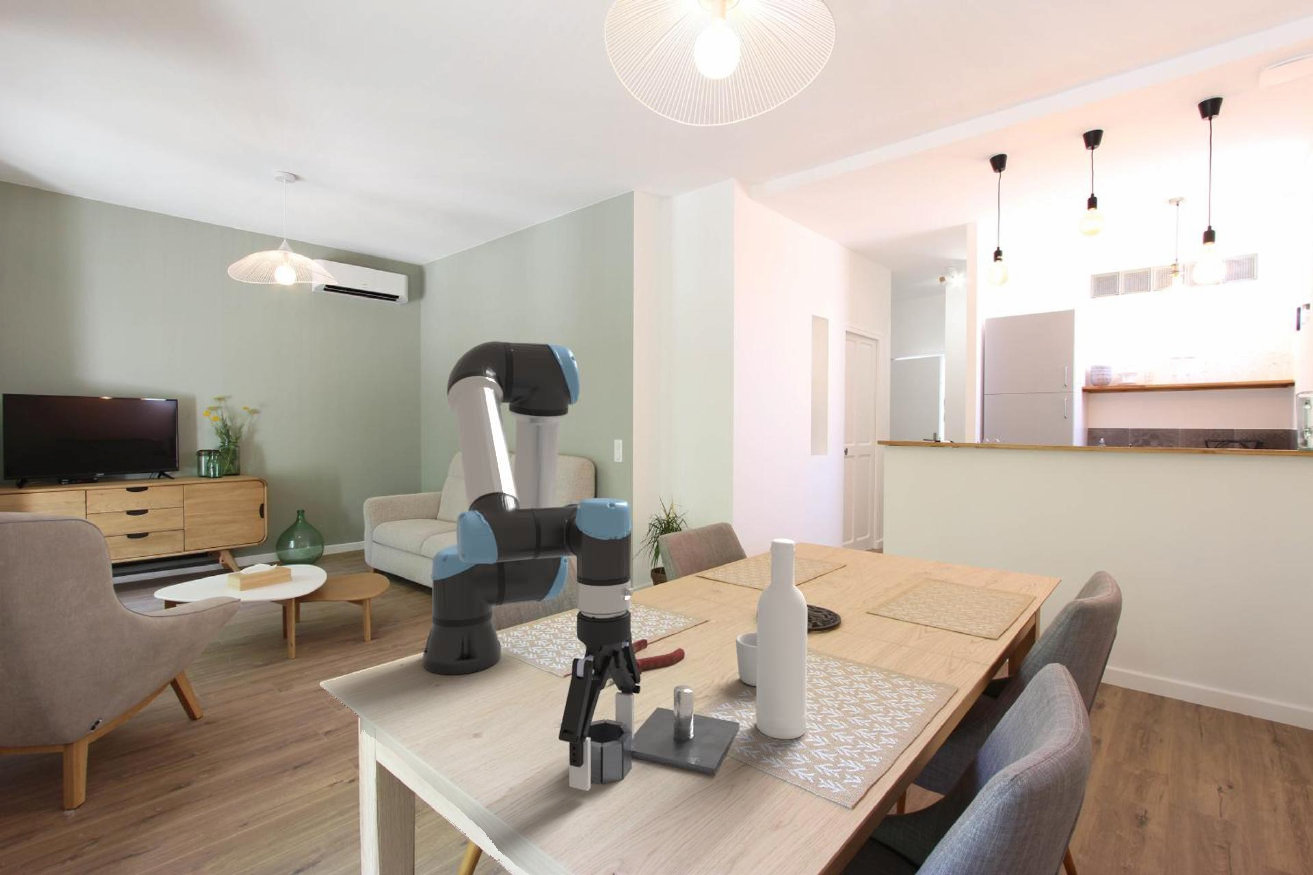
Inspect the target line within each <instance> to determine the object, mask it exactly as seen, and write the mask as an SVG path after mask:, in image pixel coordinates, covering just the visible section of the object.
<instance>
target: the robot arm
mask: <svg viewBox="0 0 1313 875" xmlns="http://www.w3.org/2000/svg"><path fill="white" fill-rule="evenodd" d="M580 382H581V381H580V374H579V368H578V364H577V361H576V358H575V355H574V353H573V352H572V350H571V349H569V348H568V347H566V346H563V345H556V344H550V343H536V342H535V343H531V342H530V343H529V342H528V343H527V342H509V341H508V342H505V341H499V340H498V341H497V340H496V341H495V340H493V341H487V342H482V343H480V344H478V345H476V346H474V347H472V348H471V349H469V350H468V351H466V352H465V353H464V354H463V355H461V357H460V358H459V359H458V360H457V362H456V363H455V365H454V366H453V367H452V370H451V372H450V373H449V377H448V380H447V385H446V394H447V402H448V405H449V407H450V409H451V410H452V411H453V412H454V413H455V416H456V425H457V432H458V440H459V448H460V455H461V462H462V469H463V470H462V471H463V472H462V473H463V479H464V485H465V487H464V488H465V494H466V502H467V508H468V509H467V511H462V512H460V514H459V515H458V516H457V521H456V534H455V535H456V544H454V545H451V546H447V547H444V548H442V549H441V550H439V551H438V552H437V553H436V554H435V555H434V556H433V558H432V567H431V568H432V571H431V575H430V579H431V581H432V585H431V586H432V590H431V591H432V594H431V595H432V596H431V598H432V602H431V603H432V605H431V609H432V610H431V613H432V614H431V616H432V618H431V620H432V621H431V628H430V632H429V634H428V637H427V640H426V643H425V644H426V645H425V647H424V650H423V653H422V667H423V668H424V669H425V670H427V671H429V672H430V673H431V672H432V673H435V674H441V675H463V674H470V673H475V672H479V671H482V670H485V669H487V668H489V667H492V666H494V665H495V664H497V663H498V662H499V661H500V660H501V658H502V645H501V643H500V642H501V641H500V640H499V637H498V634H497V631H496V627H495V625H494V621H493V607H495V606H496V607H497V606H505V605H513V604H514V605H515V604H516V605H517V604H523V603H524V604H525V603H531V602H532V603H533V602H537V603H540V602H542V601H547V600H552V599H556V598H557V597H559V596H560V595H561V594H562V592H563V591H564V589H565V585H566V583H567V578H568V571H569V563H568V557H576V609H577V610H578V612H577V614H576V636H577V640H578V641H580V642H581V643H582V644H583V645H584V646H585V651H584V652H585V653H584V657H583V658H578V657H575V658H573V660H572V664H571V678H570V682H569V686H568V691H567V696H566V701H565V705H564V711H563V716H562V719H561V724H560V729H559V732H558V733H559V734H558V740H559V741H562V742H566V743H569V745H568V746H569V748H568V750H569V751H568V752H569V756H568V758H569V763H568V764H569V765H568V767H569V768H568V770H569V774H568V775H569V776H568V777H569V778H568V780H569V781H568V782H569V783H568V786H569V787H570V788H574V789H579V790H583V791H587V792H588V791H589V790H590V789H591V786H592V785H591V783H592V782H591V738H589V737H587V735H588V731H589V728H590V725H591V722H593V721H592V720H593V718H594V714H595V712H596V707H597V704H598V701H599V697H600V694H601V691H602V690H604V689H605V688H606V686H607V683H608V680H609V679H610V678H609V677H610V676H611V679H613V681H614V682H613V683H614V684H615V686H616V688H617V690H618V691H617V692H616V693H615V694H614V695H615V699H614V700H615V701H614V702H615V703H614V704H615V707H614V708H615V713H614V714H615V718H614V719H615V720H614V721H619V722H623V723H624V724H626V725H627V726H628V728H629V729H630V730H631V731H632V739H633V738H634V734H635V694H638V695H639V694H640V692H641V688H642V687H641V685H639V684H640V683H641V680H642V678H641V674H640V673H639V669H638V666H637V662H636V659H637V658H636V654H634V650H633V646H632V644H633V641H632V640H633V637H632V629H631V628H632V614H631V612H630V610H629V609H630V607H631V596H632V595H633V593H634V590H633V589H632V588H631V580H632V579H631V573H632V572H631V571H632V570H631V569H632V568H631V564H632V563H631V561H632V559H631V558H632V557H631V556H632V554H631V553H632V547H631V546H632V529H633V523H632V520H631V518H632V517H631V506H630V504H629V502H628V501H626V500H625V499H623V498H622V499H621V498H613V497H595V498H593V497H592V498H586V499H585V498H584V499H582V500H581V501H580V502H579V503H574V502H573V503H567V504H565V505H563V506H556V492H557V491H556V490H557V489H556V488H557V472H558V459H559V458H558V457H559V456H558V454H559V442H560V424H561V421H563V420H564V418H566V417H567V416H568V415H569V406H573V405H574V404H575V405H576V404H577V402H578V401H579V396H580V392H581V391H580V388H581V387H580ZM505 403H506V404H508V412H509V413H510V414H511V416H513V417H514V418H515V422H516V423H515V424H516V425H515V441H514V443H515V444H514V445H515V446H514V465H512V461H511V456H510V450H509V445H508V441H507V436H506V430H505V426H504V420H503V415H502V411H501V406H502V404H505ZM513 466H514V468H513Z"/></svg>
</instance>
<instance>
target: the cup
mask: <svg viewBox="0 0 1313 875" xmlns="http://www.w3.org/2000/svg"><path fill="white" fill-rule="evenodd" d="M735 647H736V655H737V656H736V657H737V667H738V676H739V678H740V681H741V682H742V683H745V684H746V685H749V686H752V687H757V632H744V633H741V634H739V635H737V636H736V638H735Z"/></svg>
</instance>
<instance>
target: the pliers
mask: <svg viewBox="0 0 1313 875" xmlns="http://www.w3.org/2000/svg"><path fill="white" fill-rule="evenodd" d="M632 646H633V650H634V654H635V655H636V654H637V653H638V652H641V651H643V650H645V649H647V648H648V640H647V639H646V638H642V639H639V640H637V641H634V642H632ZM684 658H685V650H684V649H683V648H681V647H679V648H677V649H675V650H674V651H673V652H670V653H666V654H660V655H655V656H654V655H653V656H649V657H643V658H636V662H637V666H638V669H639V673H640V675H642V673H643V671H649V670H653V669H659V668H664V667H669V666H672V665H676V664H677V663H679V662H681V661H682V660H684ZM610 678H611V676H610V677H609V679H610ZM611 683H614V681H613V679H612V678H611V679H610V680H609V684H611Z"/></svg>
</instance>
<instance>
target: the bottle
mask: <svg viewBox="0 0 1313 875" xmlns="http://www.w3.org/2000/svg"><path fill="white" fill-rule="evenodd" d="M770 543H771V546H770V548H769V549H770V550H769V551H770V554H771V555H770V558H771V559H770V584H769V585H768V586H767V587H765V588H764V589H763V590H762V592H761V593H760V596H759V598H758V601H757V608H756V609H757V616H756V618H757V619H756V620H757V622H756V623H757V625H756V628H757V629H756V630H757V631H756V633H757V686H756V705H755V720H756V722H755V723H756V728H757V729H758V730H759V732H760V733H761V734H763V735H765V736H767V737H769V738H773V739H777V740H794V739H798V738H800V737H801V736H803V735H804V734H805V733H806V730H807V720H808V719H807V717H808V712H807V684H808V683H807V681H808V679H807V678H808V677H807V669H808V668H807V666H808V659H807V658H808V606H807V601H806V598H805V596H804V594H803V592H802V591H801V589H799V588H798V587H797V586H796V585H795V559H796V558H795V554H796V547H795V546H796V543H795V541H794V540H791V539H787V538H775V539H773V540H772V541H771V542H770Z"/></svg>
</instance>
